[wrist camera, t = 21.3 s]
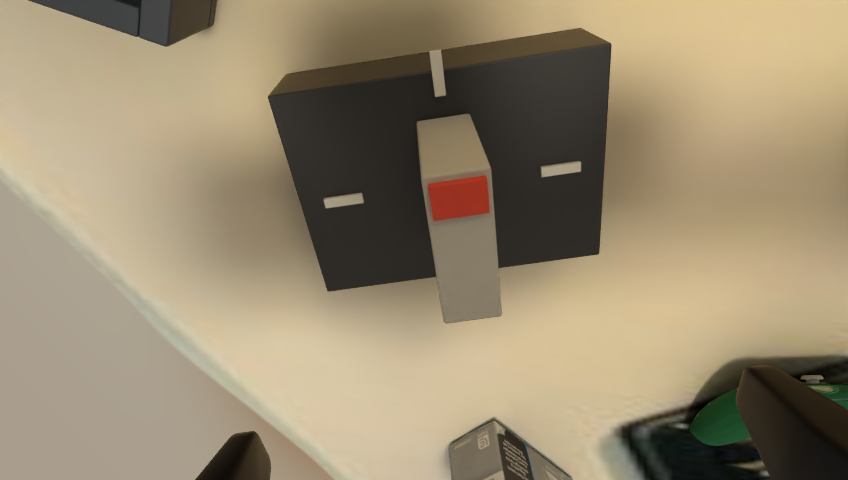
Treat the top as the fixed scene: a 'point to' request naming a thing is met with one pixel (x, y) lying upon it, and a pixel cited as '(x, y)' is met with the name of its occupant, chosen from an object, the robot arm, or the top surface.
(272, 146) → the top surface
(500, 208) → the dial panel
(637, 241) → the top surface
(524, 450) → the label tape box
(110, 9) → the dark grey divided tray
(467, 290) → the grey long block
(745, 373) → the robot arm
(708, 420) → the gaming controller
